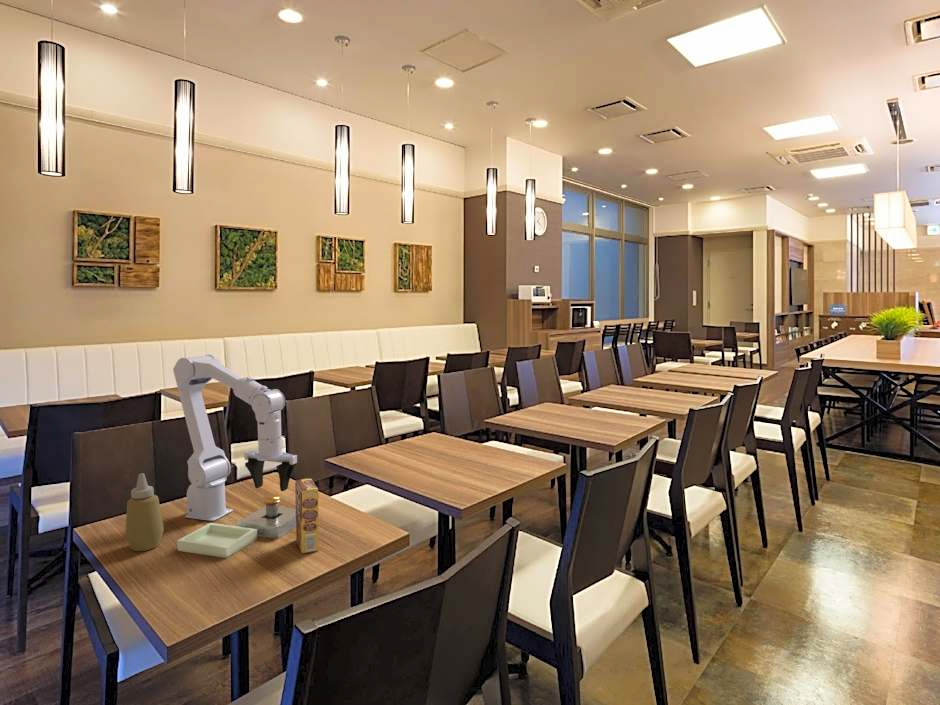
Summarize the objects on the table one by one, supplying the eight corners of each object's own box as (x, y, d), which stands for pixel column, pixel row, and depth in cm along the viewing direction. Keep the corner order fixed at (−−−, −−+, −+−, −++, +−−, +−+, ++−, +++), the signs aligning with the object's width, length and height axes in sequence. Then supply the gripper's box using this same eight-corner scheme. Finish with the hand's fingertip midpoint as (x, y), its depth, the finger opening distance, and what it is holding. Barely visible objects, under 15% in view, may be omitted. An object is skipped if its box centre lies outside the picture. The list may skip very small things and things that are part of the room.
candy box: (320, 550, 135) (318, 488, 133) (301, 554, 133) (300, 491, 131) (313, 536, 143) (311, 477, 141) (295, 539, 141) (293, 480, 139)
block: (237, 533, 145) (237, 521, 145) (267, 515, 156) (266, 505, 156) (278, 538, 141) (278, 527, 141) (305, 520, 153) (305, 509, 153)
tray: (177, 550, 135) (177, 540, 135) (210, 532, 145) (210, 522, 145) (226, 558, 131) (226, 547, 131) (257, 538, 141) (257, 529, 141)
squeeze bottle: (118, 551, 135) (113, 477, 133) (147, 537, 142) (143, 467, 140) (143, 556, 132) (138, 481, 130) (172, 542, 139) (168, 471, 138)
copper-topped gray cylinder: (260, 528, 147) (259, 499, 147) (270, 522, 151) (269, 493, 151) (274, 530, 146) (273, 500, 145) (284, 524, 150) (283, 495, 149)
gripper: (235, 438, 145) (237, 490, 146) (285, 443, 141) (286, 496, 142) (253, 432, 151) (255, 482, 153) (301, 436, 147) (302, 487, 149)
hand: (271, 488), depth 148 cm, fingers open, 7 cm apart
